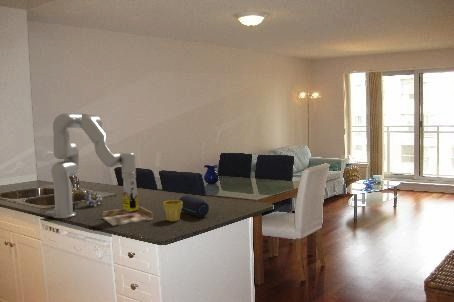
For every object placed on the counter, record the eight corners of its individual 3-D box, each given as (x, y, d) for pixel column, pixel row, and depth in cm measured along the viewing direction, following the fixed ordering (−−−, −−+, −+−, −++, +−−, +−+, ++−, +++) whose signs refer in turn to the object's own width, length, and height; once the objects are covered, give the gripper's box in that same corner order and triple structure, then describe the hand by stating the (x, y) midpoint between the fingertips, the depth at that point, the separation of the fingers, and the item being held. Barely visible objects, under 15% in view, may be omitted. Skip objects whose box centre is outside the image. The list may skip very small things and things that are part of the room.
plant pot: (186, 220, 240) (185, 202, 240) (169, 223, 235) (168, 204, 234) (177, 216, 249) (177, 199, 248) (160, 219, 243) (160, 201, 243)
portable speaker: (212, 217, 245) (211, 199, 245) (195, 220, 240) (195, 201, 240) (191, 209, 267) (191, 193, 266) (176, 211, 262) (175, 195, 261)
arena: (113, 225, 233) (112, 218, 232) (103, 218, 250) (102, 211, 249) (153, 219, 243) (152, 212, 243) (140, 213, 261) (140, 206, 260)
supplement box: (123, 211, 248) (122, 192, 247) (131, 210, 253) (130, 190, 252) (129, 213, 244) (128, 193, 244) (138, 211, 249) (137, 191, 248)
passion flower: (95, 215, 284) (86, 202, 276) (85, 210, 290) (77, 197, 283) (108, 203, 289) (100, 190, 282) (98, 198, 296) (90, 185, 289)
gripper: (140, 176, 241) (142, 208, 243) (130, 172, 256) (132, 203, 258) (127, 177, 238) (128, 210, 239) (117, 174, 253) (119, 205, 254)
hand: (130, 206), depth 248 cm, fingers closed on supplement box, 7 cm apart
